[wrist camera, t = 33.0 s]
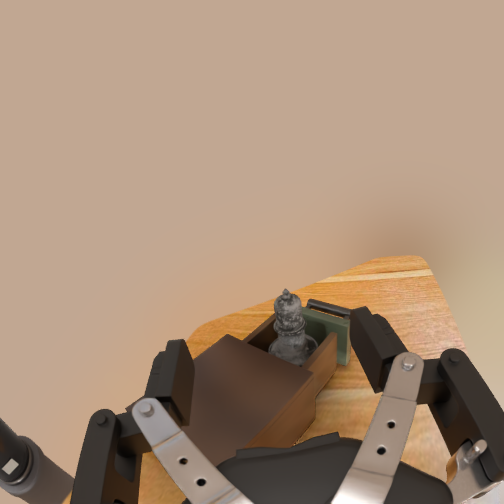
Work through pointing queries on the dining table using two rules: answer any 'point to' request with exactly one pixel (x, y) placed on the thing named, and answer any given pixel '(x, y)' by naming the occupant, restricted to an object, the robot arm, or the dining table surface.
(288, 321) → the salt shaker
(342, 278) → the dining table surface
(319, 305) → the drawer
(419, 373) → the robot arm
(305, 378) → the cabinet
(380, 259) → the dining table surface
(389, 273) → the dining table surface
